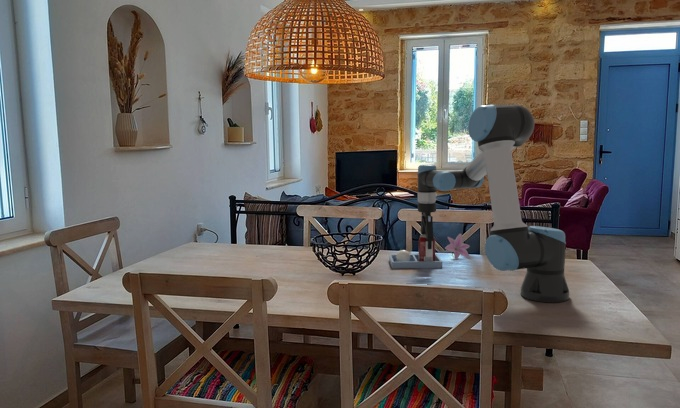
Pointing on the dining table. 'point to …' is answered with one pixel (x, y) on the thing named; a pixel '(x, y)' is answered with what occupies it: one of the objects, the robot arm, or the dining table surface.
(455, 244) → the lily
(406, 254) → the cream white ball
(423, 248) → the soda can
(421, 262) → the holder
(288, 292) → the dining table surface
